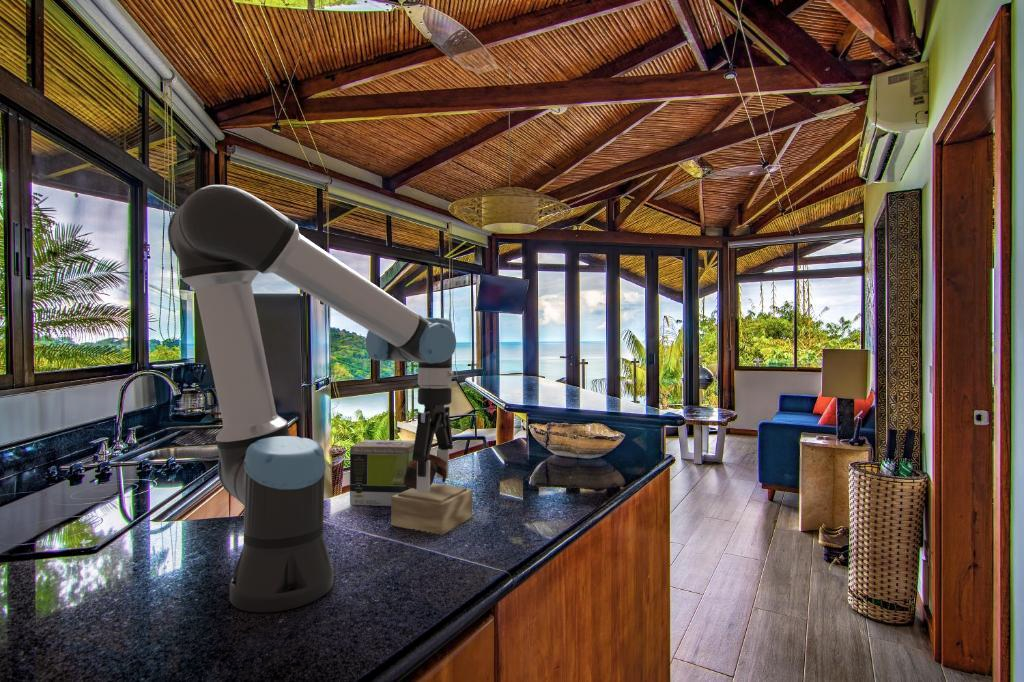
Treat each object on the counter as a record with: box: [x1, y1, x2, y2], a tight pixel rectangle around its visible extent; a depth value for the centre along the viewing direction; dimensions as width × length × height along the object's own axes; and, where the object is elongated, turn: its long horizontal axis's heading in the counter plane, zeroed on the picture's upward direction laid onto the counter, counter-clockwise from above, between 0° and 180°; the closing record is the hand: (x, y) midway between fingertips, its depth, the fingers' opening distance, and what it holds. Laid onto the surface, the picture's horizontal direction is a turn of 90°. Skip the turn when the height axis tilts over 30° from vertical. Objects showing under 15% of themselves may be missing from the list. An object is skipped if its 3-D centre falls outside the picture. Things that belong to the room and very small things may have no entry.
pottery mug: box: [402, 453, 447, 489], centre depth 117 cm, size 12×10×8 cm
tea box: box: [349, 439, 415, 507], centre depth 131 cm, size 15×10×15 cm, turn 84°
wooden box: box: [390, 482, 474, 536], centre depth 117 cm, size 13×13×7 cm
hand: (433, 484), depth 117 cm, fingers closed on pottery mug, 11 cm apart
